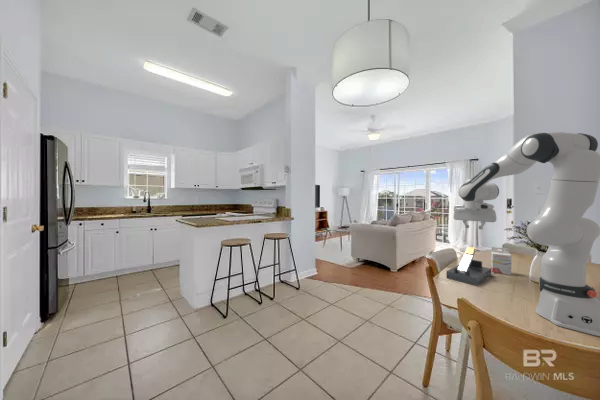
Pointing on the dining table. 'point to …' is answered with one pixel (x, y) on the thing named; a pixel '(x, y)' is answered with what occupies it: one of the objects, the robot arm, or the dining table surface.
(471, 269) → the mounting block
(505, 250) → the ink cartridge box
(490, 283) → the dining table surface
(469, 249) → the clamp lever
